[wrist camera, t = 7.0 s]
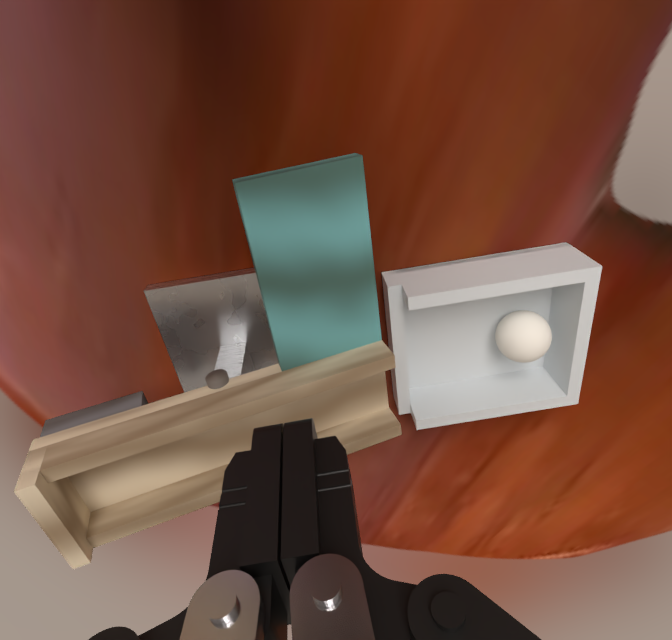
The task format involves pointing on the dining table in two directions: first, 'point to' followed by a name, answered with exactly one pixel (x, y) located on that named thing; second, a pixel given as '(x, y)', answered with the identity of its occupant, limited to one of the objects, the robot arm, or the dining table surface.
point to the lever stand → (213, 325)
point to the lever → (241, 391)
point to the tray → (487, 333)
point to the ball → (523, 336)
